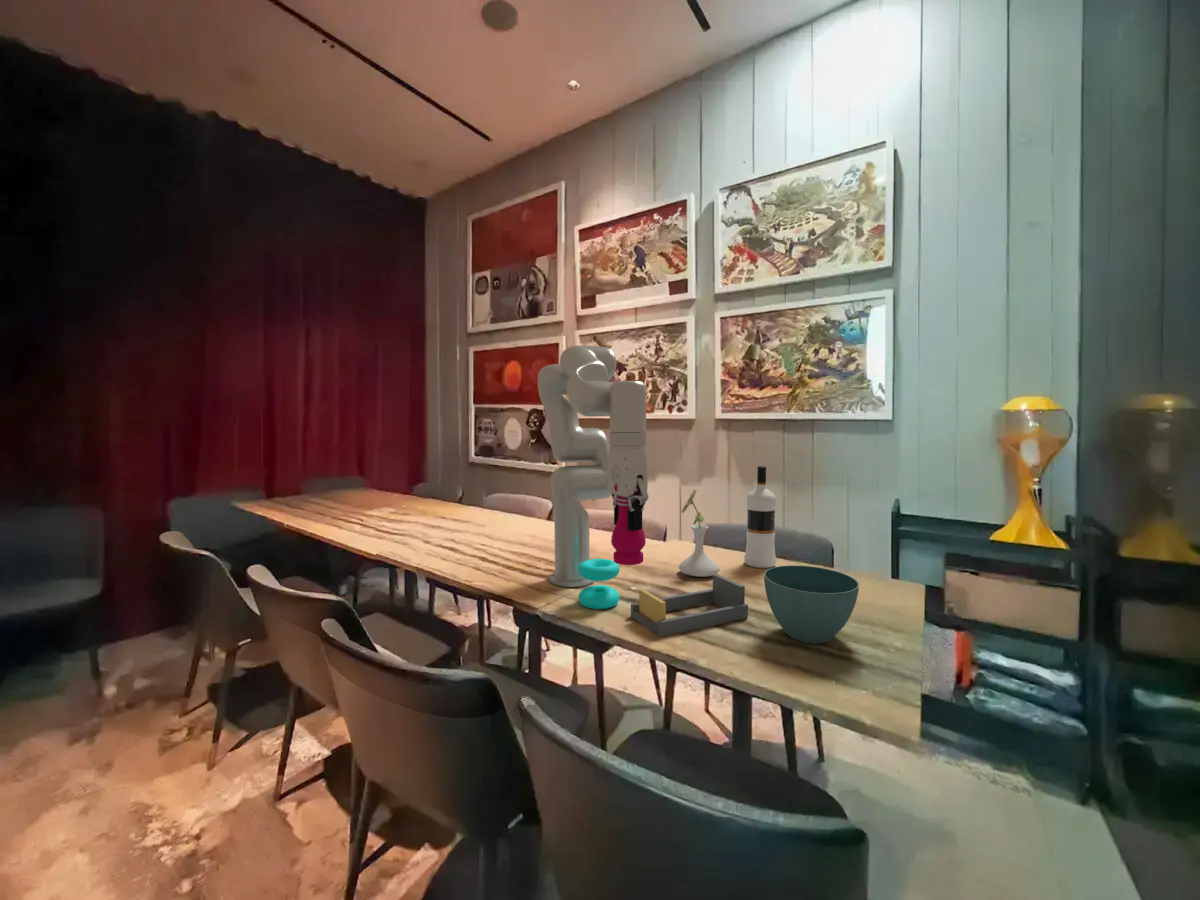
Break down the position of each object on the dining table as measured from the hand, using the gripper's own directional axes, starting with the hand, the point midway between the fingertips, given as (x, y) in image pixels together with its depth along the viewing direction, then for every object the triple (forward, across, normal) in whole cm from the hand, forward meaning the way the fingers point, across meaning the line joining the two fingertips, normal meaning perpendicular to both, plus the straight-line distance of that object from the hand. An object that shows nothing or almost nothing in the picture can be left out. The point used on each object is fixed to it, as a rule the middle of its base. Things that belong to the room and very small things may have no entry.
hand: (627, 526), depth 113 cm
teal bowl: (+23, +19, +32) cm, 44 cm away
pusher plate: (+22, 0, +6) cm, 23 cm away
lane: (+22, 0, +16) cm, 27 cm away
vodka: (+22, -25, +60) cm, 68 cm away
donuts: (+23, -17, +2) cm, 28 cm away
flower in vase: (+22, -25, +36) cm, 50 cm away
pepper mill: (+8, 0, 0) cm, 8 cm away
